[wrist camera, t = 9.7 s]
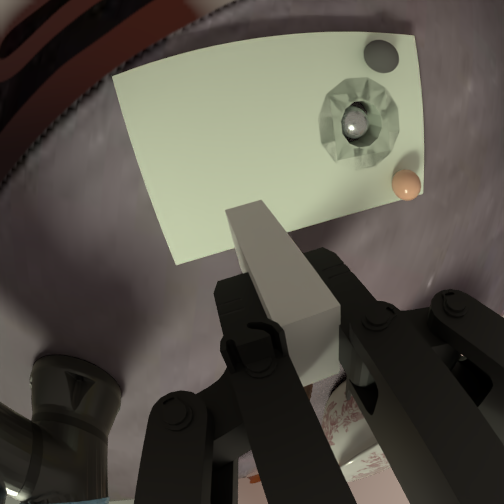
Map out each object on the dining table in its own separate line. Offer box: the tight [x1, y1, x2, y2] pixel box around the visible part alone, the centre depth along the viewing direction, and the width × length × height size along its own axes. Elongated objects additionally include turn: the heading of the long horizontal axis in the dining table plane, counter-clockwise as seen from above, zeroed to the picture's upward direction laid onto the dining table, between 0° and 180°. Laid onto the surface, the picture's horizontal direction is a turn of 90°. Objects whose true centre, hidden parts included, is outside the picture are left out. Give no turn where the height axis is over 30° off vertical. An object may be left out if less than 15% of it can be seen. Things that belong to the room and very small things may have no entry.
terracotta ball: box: [392, 169, 421, 200], centre depth 27 cm, size 3×3×3 cm
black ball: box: [364, 40, 399, 73], centre depth 20 cm, size 3×3×3 cm
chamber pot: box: [321, 380, 391, 482], centre depth 46 cm, size 28×28×21 cm
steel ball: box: [341, 106, 369, 138], centre depth 26 cm, size 3×3×3 cm
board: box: [112, 32, 424, 265], centre depth 26 cm, size 28×18×2 cm, turn 102°
